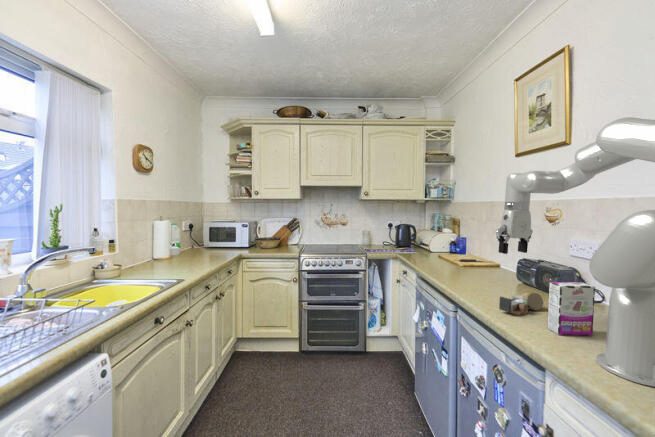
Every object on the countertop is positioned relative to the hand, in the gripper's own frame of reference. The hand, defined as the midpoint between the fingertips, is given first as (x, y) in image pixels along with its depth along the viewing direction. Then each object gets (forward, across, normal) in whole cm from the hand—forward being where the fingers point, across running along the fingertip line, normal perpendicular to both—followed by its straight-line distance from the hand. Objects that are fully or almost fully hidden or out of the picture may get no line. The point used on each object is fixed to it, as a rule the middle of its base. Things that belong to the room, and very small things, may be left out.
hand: (512, 252), depth 99 cm
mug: (+25, +15, +4) cm, 29 cm away
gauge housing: (+24, +6, +2) cm, 25 cm away
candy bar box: (+24, +7, -16) cm, 30 cm away
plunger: (+23, +5, +2) cm, 23 cm away
